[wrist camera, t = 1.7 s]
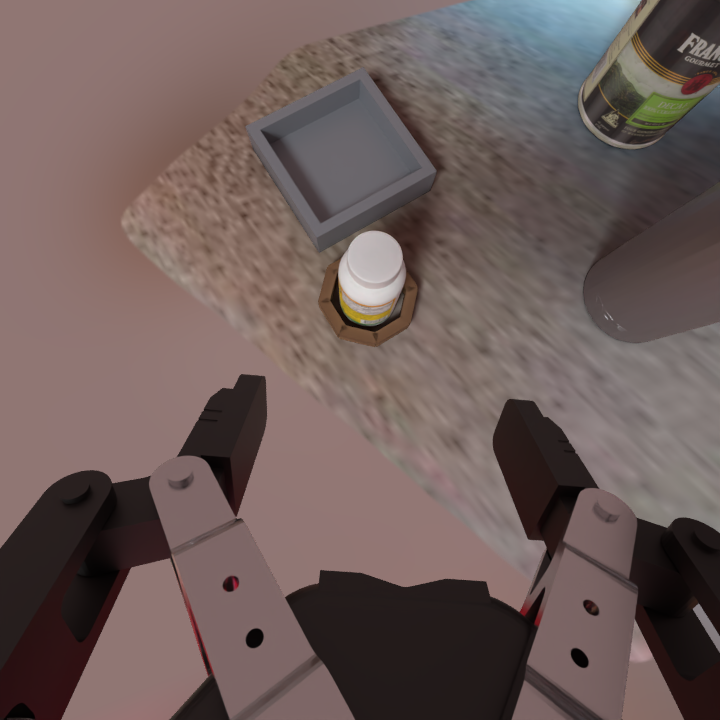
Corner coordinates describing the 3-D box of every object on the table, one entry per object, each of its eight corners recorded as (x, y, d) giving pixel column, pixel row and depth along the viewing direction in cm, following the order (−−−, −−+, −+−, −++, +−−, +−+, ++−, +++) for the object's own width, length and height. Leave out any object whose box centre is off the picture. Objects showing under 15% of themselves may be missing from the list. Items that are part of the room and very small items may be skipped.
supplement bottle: (373, 338, 36) (382, 307, 27) (327, 305, 36) (321, 263, 27) (406, 294, 37) (427, 250, 27) (361, 262, 37) (366, 207, 28)
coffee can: (678, 150, 40) (851, 7, 27) (582, 149, 40) (707, 4, 26) (663, 67, 42) (819, -109, 28) (572, 65, 42) (683, -114, 28)
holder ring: (381, 242, 38) (382, 234, 36) (429, 314, 37) (433, 310, 35) (305, 285, 37) (304, 279, 35) (352, 361, 36) (353, 358, 34)
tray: (362, 93, 40) (363, 67, 37) (430, 190, 39) (436, 171, 36) (253, 149, 39) (245, 126, 36) (319, 252, 37) (316, 237, 34)
